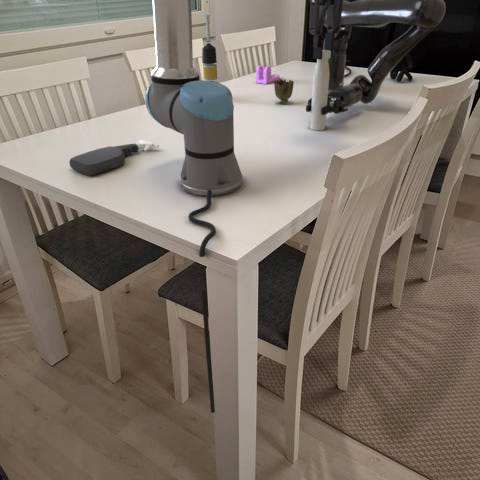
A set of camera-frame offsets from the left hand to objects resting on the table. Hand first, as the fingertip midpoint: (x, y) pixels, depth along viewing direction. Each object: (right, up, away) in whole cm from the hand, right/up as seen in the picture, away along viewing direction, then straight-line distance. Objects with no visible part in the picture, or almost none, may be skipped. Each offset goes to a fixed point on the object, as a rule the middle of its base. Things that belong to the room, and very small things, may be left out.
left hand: (322, 57), depth 134 cm
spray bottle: (-59, -32, -9) cm, 68 cm away
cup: (-8, -2, +37) cm, 38 cm away
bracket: (-12, +18, +70) cm, 73 cm away
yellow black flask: (-36, +2, +45) cm, 58 cm away
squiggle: (+47, +17, +66) cm, 83 cm away
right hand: (-1, -14, +6) cm, 15 cm away
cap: (0, +1, -1) cm, 2 cm away
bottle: (0, -18, +11) cm, 22 cm away
